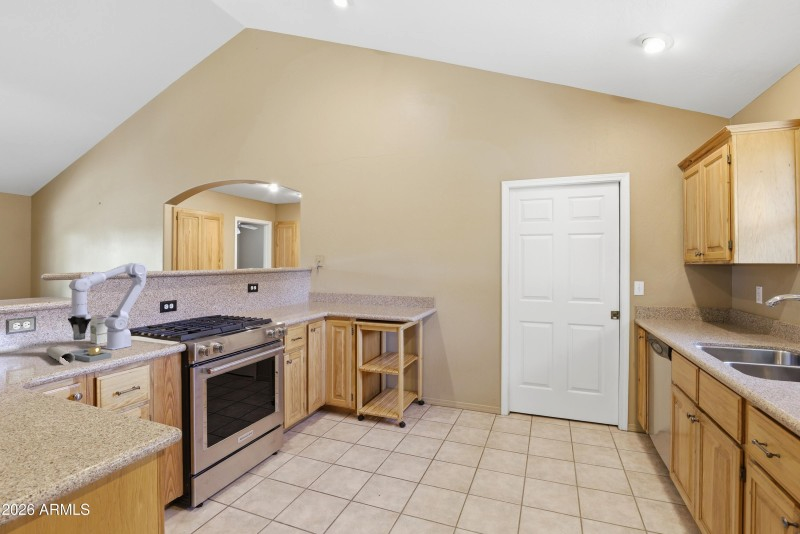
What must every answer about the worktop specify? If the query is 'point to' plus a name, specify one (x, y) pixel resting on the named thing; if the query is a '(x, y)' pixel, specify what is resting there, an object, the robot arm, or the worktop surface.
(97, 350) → the seated bushing
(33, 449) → the worktop surface
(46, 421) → the worktop surface
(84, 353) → the jig
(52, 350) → the tube
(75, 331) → the cylinder
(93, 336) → the syrup box
